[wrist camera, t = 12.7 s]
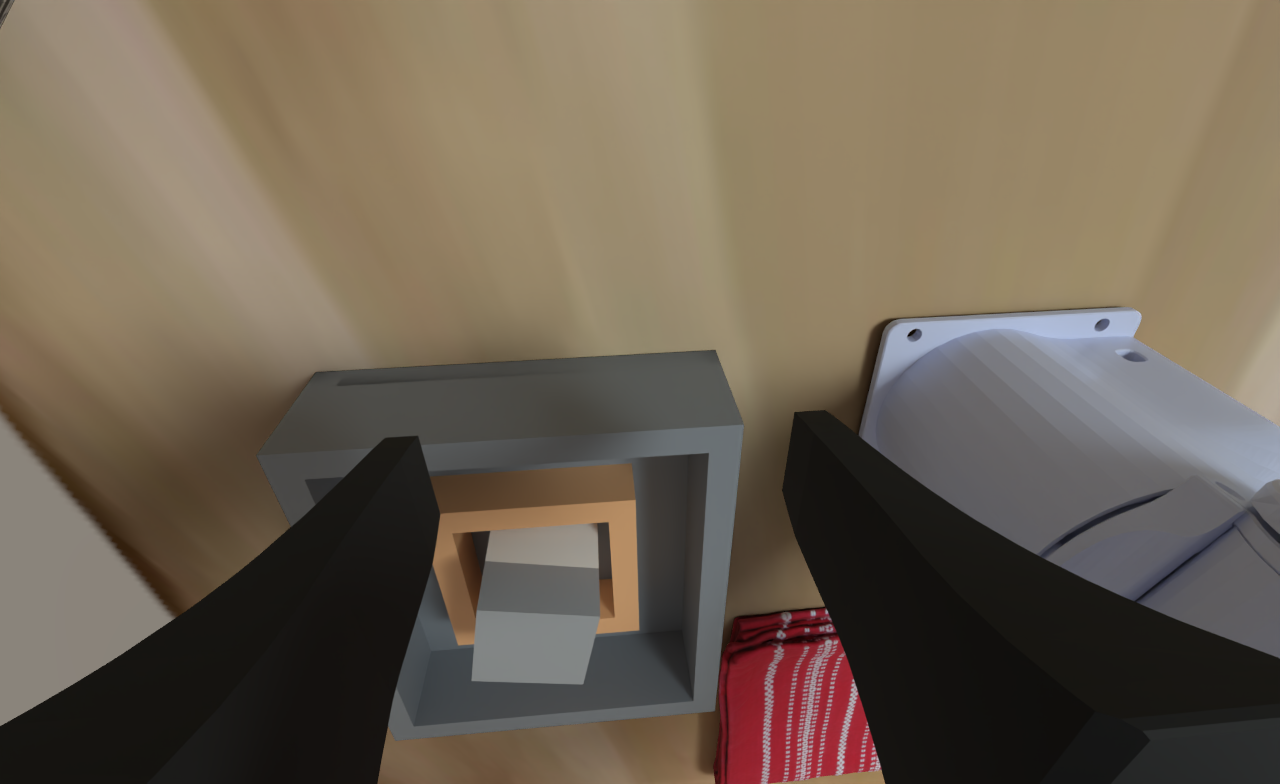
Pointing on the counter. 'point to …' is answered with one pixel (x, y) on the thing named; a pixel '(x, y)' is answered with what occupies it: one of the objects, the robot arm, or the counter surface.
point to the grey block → (538, 605)
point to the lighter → (4, 9)
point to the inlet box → (547, 517)
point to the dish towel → (789, 703)
